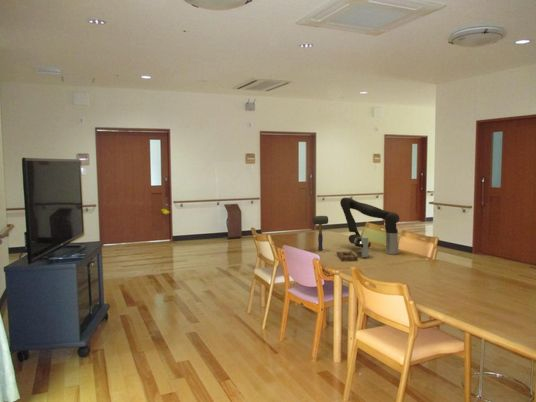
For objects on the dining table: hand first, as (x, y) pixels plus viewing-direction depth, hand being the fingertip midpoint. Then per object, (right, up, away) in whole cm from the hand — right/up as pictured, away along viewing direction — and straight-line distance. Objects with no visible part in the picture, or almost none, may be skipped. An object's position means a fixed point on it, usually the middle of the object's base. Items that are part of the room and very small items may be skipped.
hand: (365, 246), depth 326 cm
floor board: (-14, -10, +3) cm, 17 cm away
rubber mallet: (-31, -7, +31) cm, 45 cm away
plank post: (0, -8, +4) cm, 9 cm away
